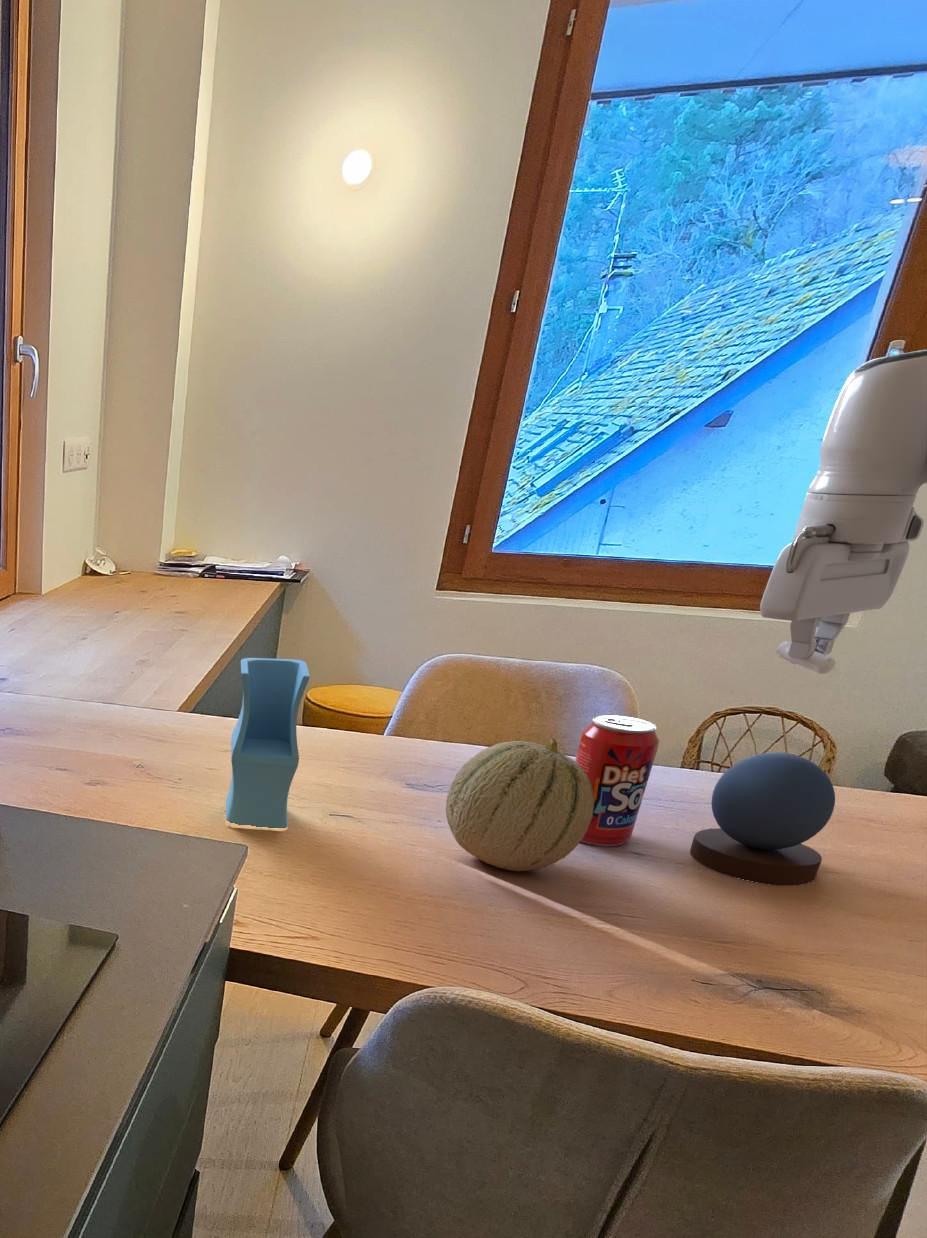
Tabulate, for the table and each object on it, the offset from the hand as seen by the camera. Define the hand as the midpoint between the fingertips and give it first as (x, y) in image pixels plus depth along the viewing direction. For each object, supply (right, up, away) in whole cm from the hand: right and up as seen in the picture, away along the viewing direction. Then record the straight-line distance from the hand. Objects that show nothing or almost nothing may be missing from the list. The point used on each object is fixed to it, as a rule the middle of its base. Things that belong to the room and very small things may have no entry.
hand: (808, 656), depth 112 cm
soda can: (-15, -20, +15) cm, 29 cm away
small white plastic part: (0, -2, +1) cm, 2 cm away
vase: (-55, -17, +20) cm, 61 cm away
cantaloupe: (-30, -23, +7) cm, 38 cm away
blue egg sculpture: (-1, -23, +7) cm, 24 cm away
